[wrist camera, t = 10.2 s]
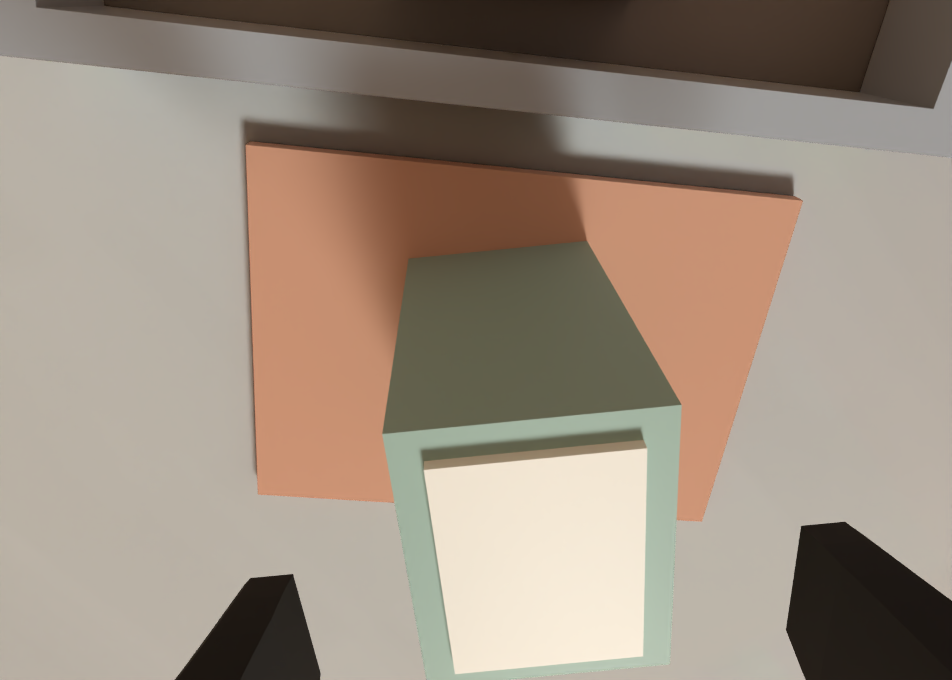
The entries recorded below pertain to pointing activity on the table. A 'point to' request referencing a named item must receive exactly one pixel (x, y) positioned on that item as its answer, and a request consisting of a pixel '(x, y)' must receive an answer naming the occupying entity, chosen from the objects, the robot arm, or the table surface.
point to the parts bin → (521, 73)
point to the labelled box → (531, 467)
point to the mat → (473, 230)
